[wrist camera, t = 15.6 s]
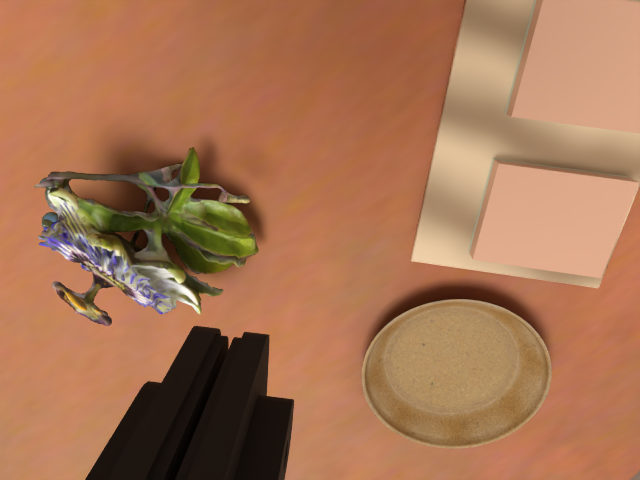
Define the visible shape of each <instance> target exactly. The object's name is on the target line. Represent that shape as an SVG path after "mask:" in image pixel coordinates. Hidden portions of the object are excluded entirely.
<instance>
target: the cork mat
mask: <svg viewBox="0 0 640 480" xmlns="http://www.w3.org/2000/svg"><path fill="white" fill-rule="evenodd" d="M624 1H632V2H640V0H624ZM533 4H534V0H465V3H464V8H463V13H462V17H461V22H460V27H459V32H458V36H457V41H456V46H455V50H454V55H453V60H452V65H451V69H450V74H449V79H448V84H447V88H446V93H445V98H444V102H443V107H442V112H441V117H440V121H439V126H438V131H437V136H436V140H435V145H434V150H433V154H432V159H431V164H430V169H429V173H428V178H427V183H426V187H425V192H424V197H423V202H422V206H421V211H420V216H419V221H418V225H417V230H416V235H415V239H414V244H413V249H412V254H411V261H415V262H421V263H428V264H435V265H442V266H449V267H456V268H463V269H469V270H476V271H483V272H490V273H497V274H504V275H511V276H518V277H524V278H531V279H538V280H545V281H552V282H559V283H566V284H572V285H579V286H586V287H593V288H599V285H600V283H601V280H602V278H603V276H604V273H605V271H606V268H607V266H608V263H609V261H610V258H611V256H612V253H613V251H614V248H615V246H616V243H617V241H618V238H619V236H620V233H621V231H622V228H623V226H624V223H625V221H626V218H627V216H628V213H629V211H630V208H631V206H632V203H633V201H634V198H635V196H636V193H637V191H638V188H639V186H640V133H632V132H625V131H617V130H609V129H602V128H594V127H586V126H578V125H571V124H563V123H555V122H547V121H540V120H532V119H524V118H516V117H511V116H509V115H506V114H505V110H506V106H507V102H508V98H509V95H510V91H511V87H512V83H513V80H514V76H515V72H516V68H517V64H518V61H519V57H520V53H521V49H522V46H523V42H524V38H525V34H526V30H527V27H528V23H529V19H530V15H531V12H532V8H533ZM493 158H494V159H502V160H509V161H517V162H524V163H532V164H539V165H547V166H554V167H561V168H569V169H576V170H584V171H591V172H599V173H606V174H614V175H621V176H627V177H629V178H631V179H633V180H635V181H637V182H639V185H638V188H637V190H636V193H635V195H634V198H633V200H632V203H631V205H630V208H629V210H628V213H627V215H626V218H625V220H624V223H623V225H622V228H621V230H620V233H619V235H618V238H617V240H616V243H615V245H614V248H613V250H612V253H611V255H610V258H609V260H608V263H607V265H606V268H605V270H604V273H603V275H602V278H595V277H589V276H582V275H575V274H568V273H561V272H554V271H547V270H540V269H533V268H526V267H519V266H512V265H506V264H499V263H492V262H485V261H478V260H473V259H472V257H471V255H470V253H469V251H468V250H469V246H470V242H471V238H472V235H473V231H474V227H475V223H476V220H477V216H478V212H479V208H480V204H481V201H482V197H483V193H484V189H485V185H486V182H487V178H488V174H489V170H490V167H491V163H492V159H493Z"/></svg>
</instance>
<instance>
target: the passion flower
mask: <svg viewBox="0 0 640 480" xmlns="http://www.w3.org/2000/svg"><path fill="white" fill-rule="evenodd" d="M180 168H181V169H180ZM178 169H180V171H179V174H178V175H177V176H176V178H175V179H174V180H172V172H174V171H176V170H178ZM199 178H200V163H199V159H198V155H197V153H196V151H195V149H194V147H192V148H190V149H189V152H188V154H187V156H186V158H185V161H184V163H182V164H176V165H172V166H168V167H165V168H162V169H158V170H154V171H143V172H137V173H135V174H131V175H114V174H84V173H75V172H70V171H68V172H51V173H50V174H49V175H48V177H46V178H44V179H42V180H41V182H40V183H39V184H37V185H35V186H34V187H43V188H46V191H45V197H46V200H47V203H48V205H49V207H50V208H52V209H53V210H54V211H55V212H57V213H58V214H57V213H54V212H49V213H46V214H45V215H44V216H43V218H42V227H43V229H44V231H42V233H41V234H42V235H43V236H40V235H39V239H42V240H46V242H41V243H39V245H41V246H46V247H50V248H51V249H52V250H54V251H58V252H60V253H61V254H62V255H63V256H64V257H65V258H66V259H68V260H70V261H72V262H78V263H80V265H81V267H82V268H83V269H84V270H87V271H91V272H93V276H94V277H93V284H92V287H91V288H90V289H89V290H88V291H87V292H85V293H82V294H79V293H75V292H73V291H72V290H70V289H68V288H66V287H65V286H64V285H63V284H61V283H60V282H57V281H55V282H53V284H52V286H53V288H54V289H55V291H56V292H57V294H58V295H59V296H60V298H61V299H62V300H64V301H65V302H66V303H68V304H69V305H70V306H71V307H73V309H74V310H75V313H76V314H80V315H83V316H86V317H87V318H89V319H90V320H91V321H93V322H96V323H98V324H104V325H106V326H109V325H111V324H112V319H111V318H110V317H109V316H108V313H107V312H105V311H103V310H100V309H99V308H98V307H97V306H96V305H95V304H94V303H93V301H94V298H95V296H96V294H97V292H98V291H99V289H101V288H109V287H118V288H120V289H121V290H122V291H123V292H124V293H125V294H126V295H127V296H129V297H130V298H132V299H134V300H135V301H136V302H137V303H138V304H139V305H143V306H144V307H147V306H148V305H150V306H152V307H153V308H154V309H155V310H156V311H157V312H158V313H160V314H165V313H168V311H172V308H173V309H175V308H174V307H177V305H176V301H177V300H178V301H181V302H183V303H186V304H189V305H191V306H192V307H193V308H194V309H195V311H197V312H198V314H200V313H201V303H200V301H201V298H200V296H199V294H201V293H202V294H203V293H205V294H207V295H209V296H219V295H220V294H222V292H223V289H218V288H214V287H211V286H209V285H208V284H207V283H204V282H201V281H199V280H198V279H197V278H196V277H193V276H190V275H189V274H188V273H186V272H185V271H184V270H183V268H182V267H180V266H178V265H176V264H175V263H174V262H173V261H172V259H171V258H170V256H169V254H168V253H167V252H166V250H165V248H164V246H163V243H162V240H161V238H162V234H163V233H164V234H166V236H167V238H168V240H169V241H171V242H172V243H173V244H174V245H175V247H176V251H177V254H178V255H179V256H180V258H181V260H182V262H183V263H184V265H185V266H186V268H189V269H190V270H191V271H193V272H195V273H197V274H200V273H205V274H207V273H211V274H212V273H216V272H221V271H223V270H226V269H227V268H229V267H230V266H231V265H233V264H234V263H235V265H236V266H237V267H240V266H244V265H245V261H246V257H248V256H251V255H255V254H256V253H258V250H259V249H258V247H257V244H256V237H255V235H254V233H253V232H252V230H251V228H250V225H249V223H248V222H247V219H246V218H245V216H244V215H243V213H242V212H241V211H240V210H239V209H237V208H236V207H234V206H232V205H229V204H227V203H228V202H229V203H235V202H236V203H249V202H250V199H249V197H248V196H246V195H241V196H238V195H232V194H229V193H228V192H226V191H225V190H224V189H223V188H222V187H221V186H219V185H218V184H208V183H198V181H199ZM71 179H85V180H108V181H127V182H131V183H133V184H135V185H136V186H138V187H140V188H141V189H142V190H144V191H145V192H146V193H147V201H146V205H145V209H144V212H137V211H136V212H129V211H121V210H117V209H115V208H112V207H110V206H107V205H105V204H101V203H98V202H96V201H94V200H93V199H83V198H80V197H78V196H77V195H76V194H75V193H74V192H73V191H72V190H71V188H70V186H69V181H70V180H71ZM156 187H161V188H166V189H168V191H169V199H167V200H166V201H165V202H163V201H161V200H159V199H158V197H157V195H156V193H155V191H156ZM197 187H202V188H220V189H221V190H222V191H223V192H222V193H221V195H220V197H219V201H216V200H205V199H198V198H196V199H195V198H192V197H191V195H192V193H194V191H195V190H196V189H197ZM151 202H154V203H155V211H154V212H152V213H149V214H146V212H147V210H148V208H149V206H150V203H151ZM141 230H143V231H145V233H146V234H147V237H148V244H147V247H146V248H144V249H143V248H142V247H141V246H139V245H137V244H135V242H136V240H137V238H138V236H139V233H140V231H141ZM125 231H136V233H135V234H134V236H133V238H132V240H131V242H129V241H128V240H126V239H124V238H123V237H122V236H121V235H119V234H117V233H115V232H125Z"/></svg>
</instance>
